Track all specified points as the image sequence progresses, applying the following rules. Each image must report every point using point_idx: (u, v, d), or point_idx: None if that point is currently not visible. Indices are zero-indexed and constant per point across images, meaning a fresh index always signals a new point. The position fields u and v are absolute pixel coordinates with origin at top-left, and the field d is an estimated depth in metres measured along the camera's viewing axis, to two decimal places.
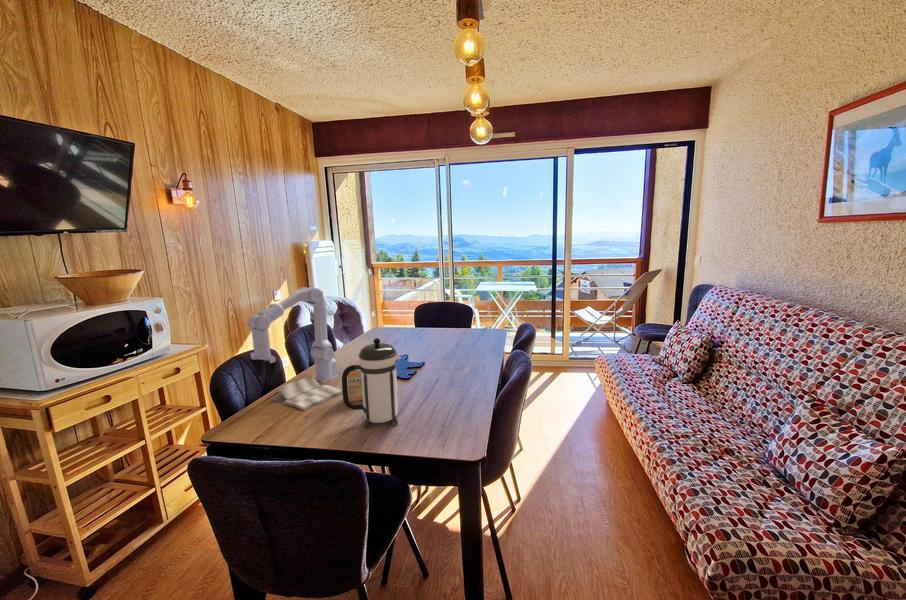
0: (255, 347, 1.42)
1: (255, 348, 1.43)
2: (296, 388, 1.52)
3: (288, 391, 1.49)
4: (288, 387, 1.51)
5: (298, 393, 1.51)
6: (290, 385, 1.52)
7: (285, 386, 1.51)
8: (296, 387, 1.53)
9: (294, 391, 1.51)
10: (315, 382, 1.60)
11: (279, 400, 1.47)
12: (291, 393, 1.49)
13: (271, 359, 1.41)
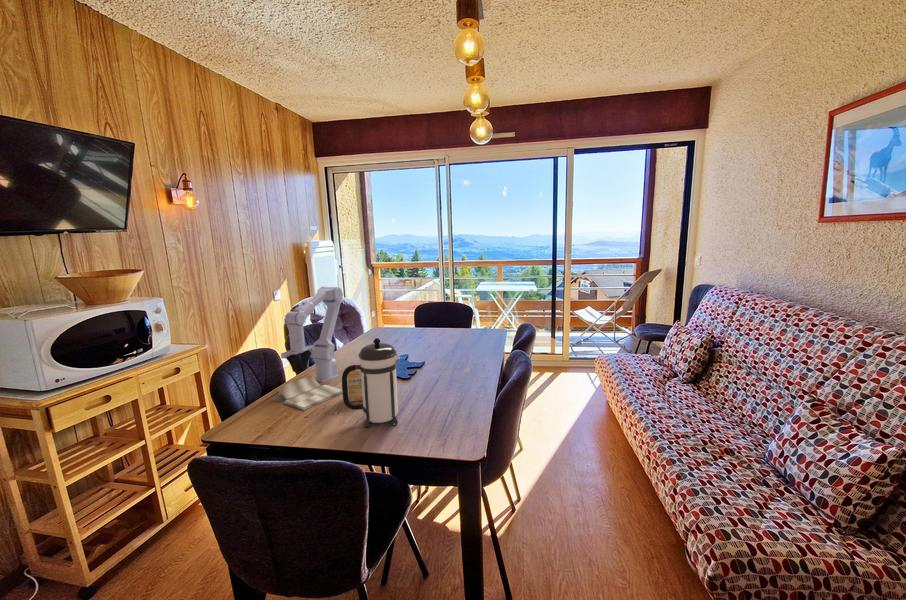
0: None
1: None
2: (296, 388, 1.52)
3: (288, 391, 1.49)
4: (288, 387, 1.51)
5: (298, 393, 1.51)
6: (290, 385, 1.52)
7: (285, 386, 1.51)
8: (296, 387, 1.53)
9: (294, 391, 1.51)
10: (315, 382, 1.60)
11: (279, 400, 1.47)
12: (291, 393, 1.49)
13: (281, 354, 1.50)
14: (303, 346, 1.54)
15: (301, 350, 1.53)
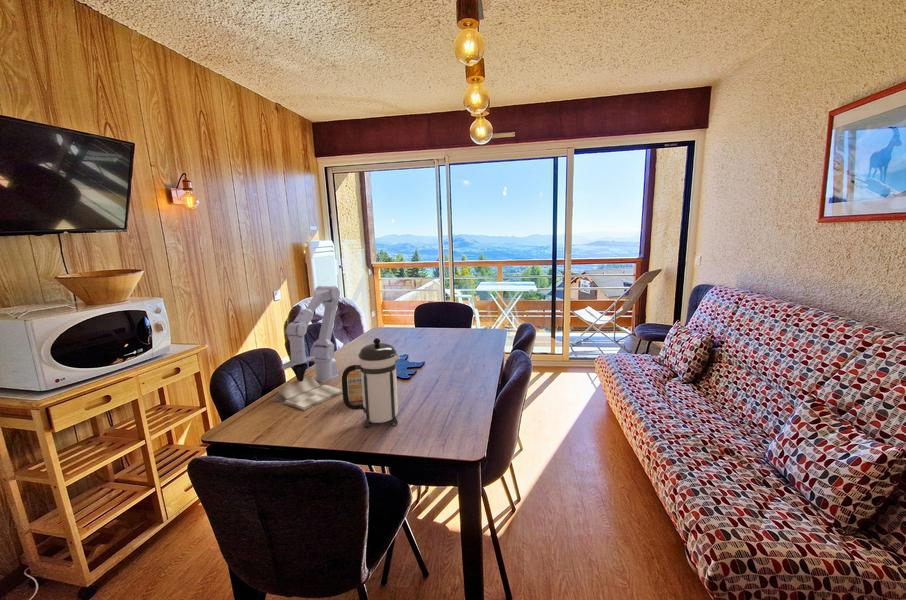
0: None
1: None
2: (296, 388, 1.52)
3: (288, 392, 1.49)
4: (288, 387, 1.51)
5: (298, 393, 1.51)
6: (290, 385, 1.52)
7: (285, 386, 1.51)
8: (296, 387, 1.53)
9: (294, 391, 1.51)
10: (315, 382, 1.60)
11: (279, 400, 1.47)
12: (291, 393, 1.49)
13: (282, 366, 1.50)
14: (304, 357, 1.55)
15: (302, 361, 1.54)
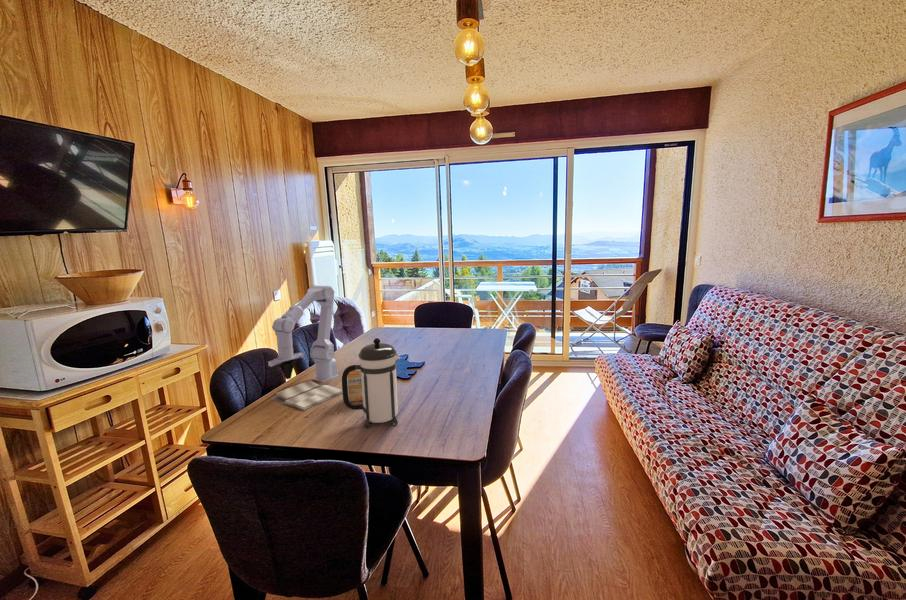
0: None
1: None
2: (295, 390, 1.53)
3: (287, 393, 1.50)
4: (287, 391, 1.52)
5: (297, 393, 1.51)
6: (289, 389, 1.53)
7: (284, 390, 1.52)
8: (295, 389, 1.54)
9: (294, 392, 1.51)
10: (314, 383, 1.60)
11: (279, 400, 1.47)
12: (290, 394, 1.50)
13: (268, 362, 1.45)
14: (291, 354, 1.50)
15: (289, 358, 1.49)
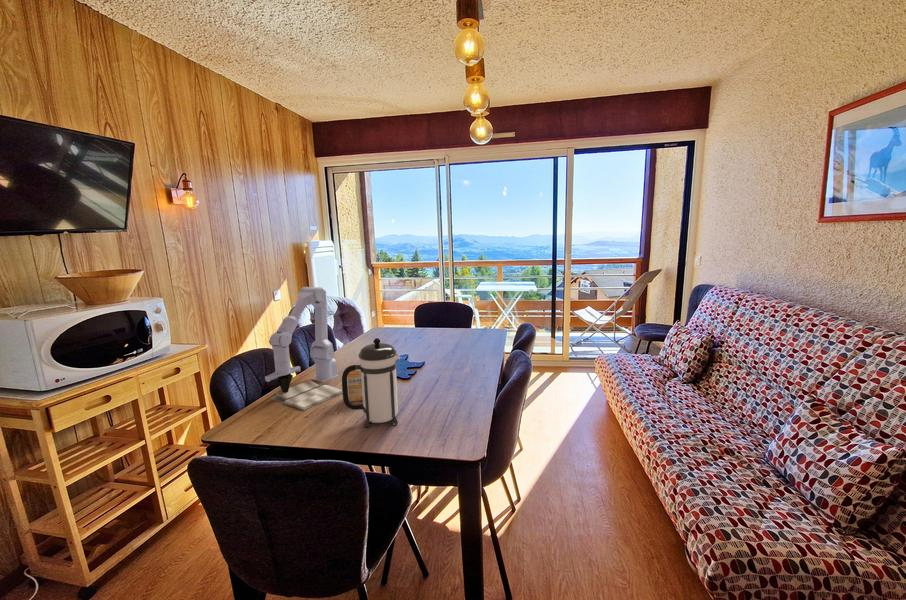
0: None
1: None
2: (295, 390, 1.53)
3: (287, 393, 1.50)
4: None
5: (297, 393, 1.51)
6: (289, 389, 1.53)
7: None
8: (295, 389, 1.54)
9: (294, 392, 1.51)
10: (314, 383, 1.60)
11: (279, 400, 1.47)
12: (290, 394, 1.50)
13: (265, 377, 1.44)
14: (288, 368, 1.49)
15: (286, 372, 1.48)
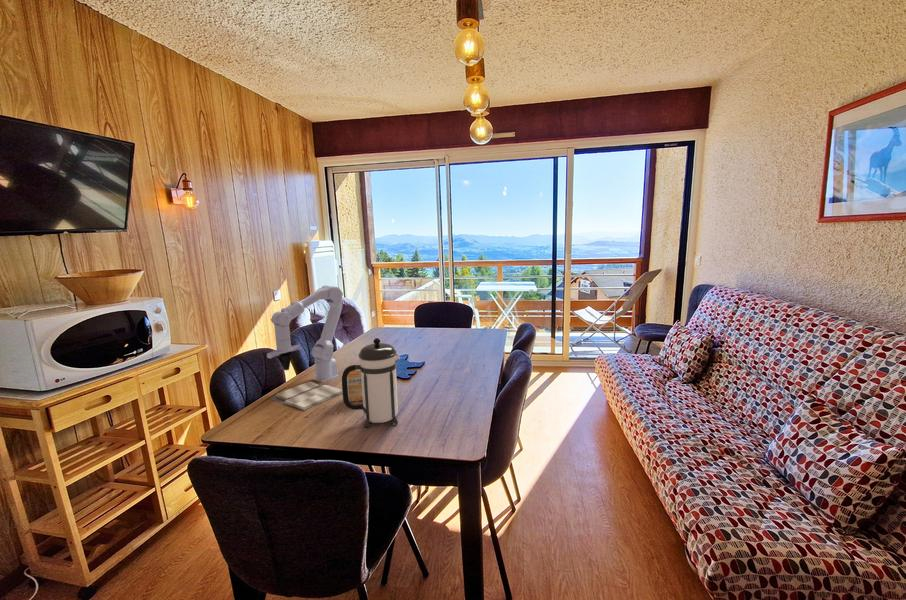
0: None
1: None
2: (295, 391, 1.53)
3: (287, 394, 1.50)
4: (287, 391, 1.52)
5: (297, 393, 1.51)
6: (289, 390, 1.53)
7: (284, 391, 1.52)
8: (295, 390, 1.54)
9: (293, 393, 1.51)
10: (314, 384, 1.60)
11: (279, 400, 1.47)
12: (290, 394, 1.50)
13: (267, 354, 1.51)
14: (289, 346, 1.56)
15: (287, 350, 1.55)
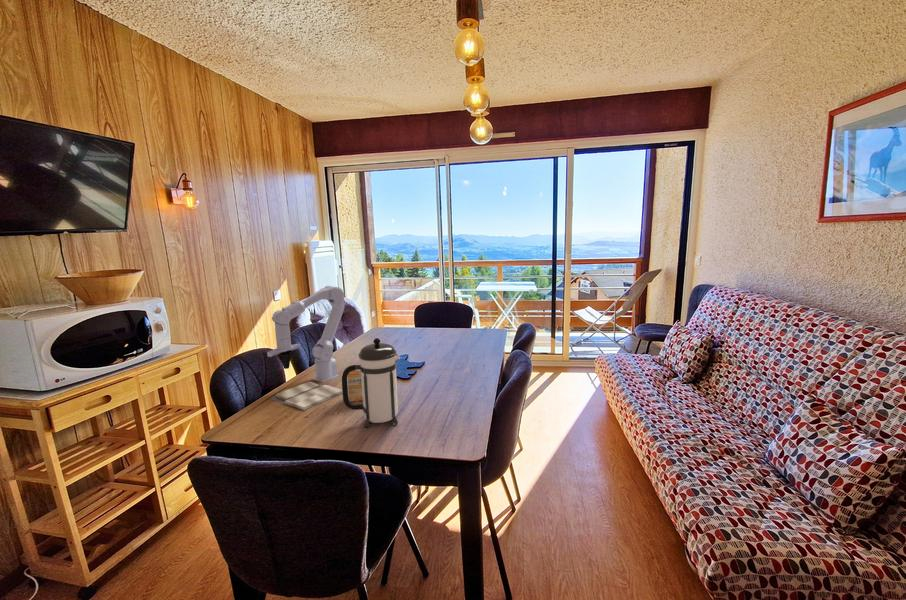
0: None
1: None
2: (295, 391, 1.53)
3: (287, 394, 1.50)
4: (287, 391, 1.52)
5: (297, 393, 1.51)
6: (289, 390, 1.53)
7: (284, 391, 1.52)
8: (295, 390, 1.54)
9: (293, 393, 1.51)
10: (314, 384, 1.60)
11: (279, 400, 1.47)
12: (290, 394, 1.50)
13: (267, 353, 1.52)
14: (289, 345, 1.57)
15: (287, 349, 1.56)
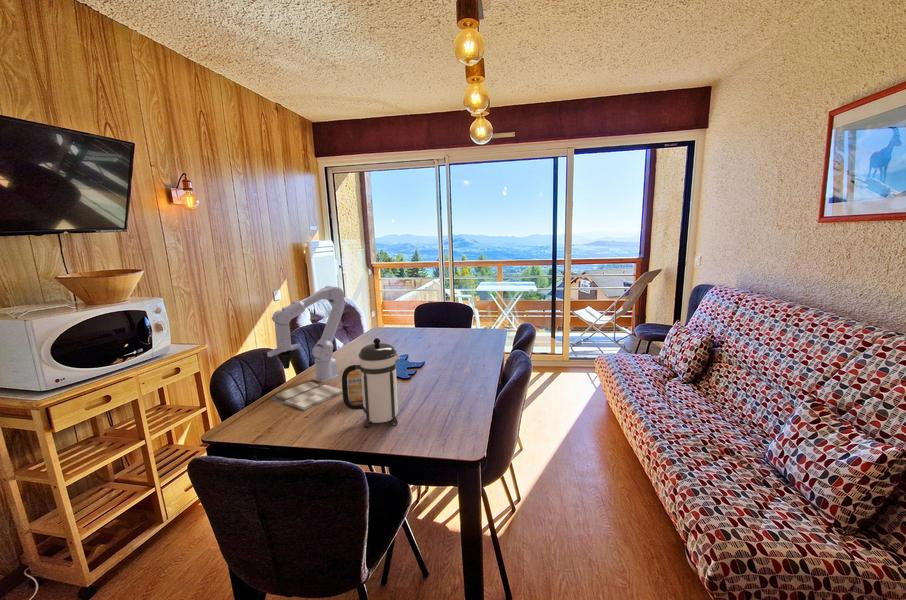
0: None
1: None
2: (295, 391, 1.53)
3: (287, 394, 1.50)
4: (287, 391, 1.52)
5: (297, 393, 1.51)
6: (289, 390, 1.53)
7: (284, 391, 1.52)
8: (295, 390, 1.54)
9: (293, 393, 1.51)
10: (314, 384, 1.60)
11: (279, 400, 1.47)
12: (290, 394, 1.50)
13: (267, 353, 1.52)
14: (289, 345, 1.57)
15: (287, 349, 1.56)
